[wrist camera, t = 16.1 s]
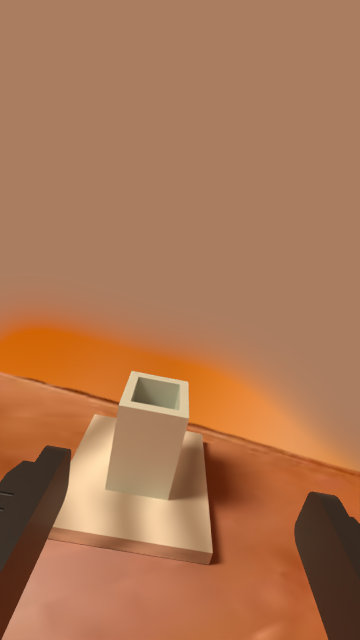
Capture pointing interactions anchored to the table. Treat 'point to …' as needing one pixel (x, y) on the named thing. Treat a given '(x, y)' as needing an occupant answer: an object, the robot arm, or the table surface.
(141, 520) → the post base
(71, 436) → the table surface
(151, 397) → the cream square bin
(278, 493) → the table surface
